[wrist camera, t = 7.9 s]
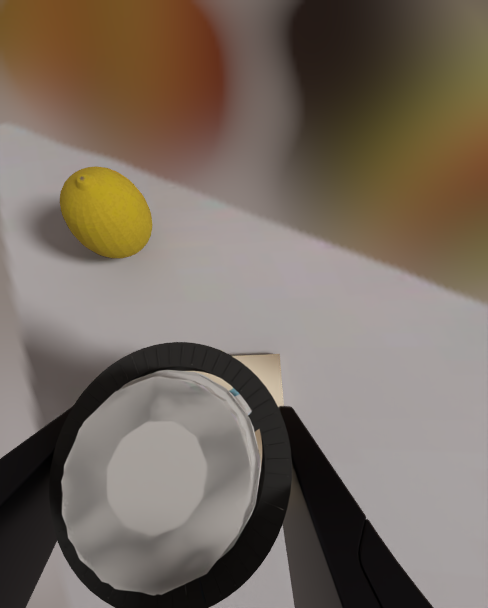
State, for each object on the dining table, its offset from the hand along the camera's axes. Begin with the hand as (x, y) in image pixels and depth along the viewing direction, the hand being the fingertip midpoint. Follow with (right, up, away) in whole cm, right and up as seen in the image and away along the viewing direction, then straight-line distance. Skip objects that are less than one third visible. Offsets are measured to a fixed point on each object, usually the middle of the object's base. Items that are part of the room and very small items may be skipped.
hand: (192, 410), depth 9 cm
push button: (0, -3, +6) cm, 7 cm away
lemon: (-8, +8, +16) cm, 20 cm away
